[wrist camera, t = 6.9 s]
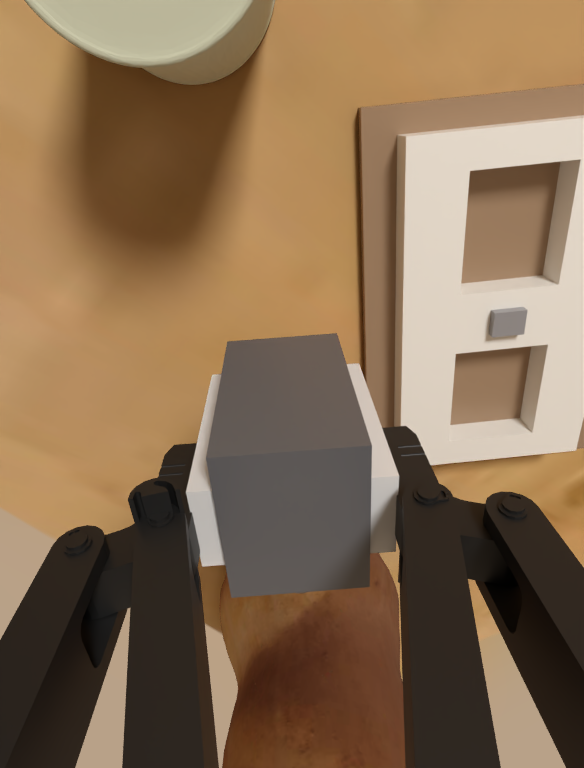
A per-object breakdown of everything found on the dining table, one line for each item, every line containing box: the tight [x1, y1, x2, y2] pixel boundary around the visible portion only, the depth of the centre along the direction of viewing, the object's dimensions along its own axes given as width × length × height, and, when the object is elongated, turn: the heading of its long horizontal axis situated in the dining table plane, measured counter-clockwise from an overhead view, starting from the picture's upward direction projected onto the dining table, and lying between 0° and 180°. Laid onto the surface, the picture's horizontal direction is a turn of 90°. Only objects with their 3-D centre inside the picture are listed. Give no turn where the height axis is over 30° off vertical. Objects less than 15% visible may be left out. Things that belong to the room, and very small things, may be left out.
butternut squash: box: [220, 553, 405, 768], centre depth 32 cm, size 14×13×25 cm
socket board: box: [358, 84, 584, 465], centre depth 32 cm, size 17×25×3 cm
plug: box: [206, 333, 372, 598], centre depth 17 cm, size 4×7×7 cm, turn 4°
